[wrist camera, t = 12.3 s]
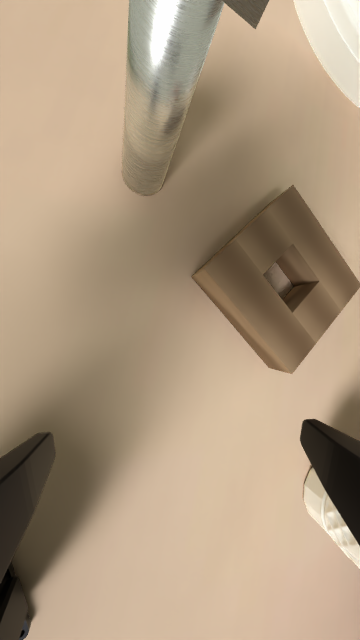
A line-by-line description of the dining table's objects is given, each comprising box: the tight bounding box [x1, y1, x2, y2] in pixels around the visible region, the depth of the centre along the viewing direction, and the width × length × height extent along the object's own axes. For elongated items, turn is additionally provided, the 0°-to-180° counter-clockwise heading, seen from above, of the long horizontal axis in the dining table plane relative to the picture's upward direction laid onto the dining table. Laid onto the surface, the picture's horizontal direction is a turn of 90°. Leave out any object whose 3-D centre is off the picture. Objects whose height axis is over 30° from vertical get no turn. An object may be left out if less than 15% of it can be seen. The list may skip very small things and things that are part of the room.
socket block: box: [192, 185, 360, 374], centre depth 21 cm, size 12×12×3 cm
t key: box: [122, 0, 269, 196], centre depth 12 cm, size 4×6×14 cm, turn 70°
